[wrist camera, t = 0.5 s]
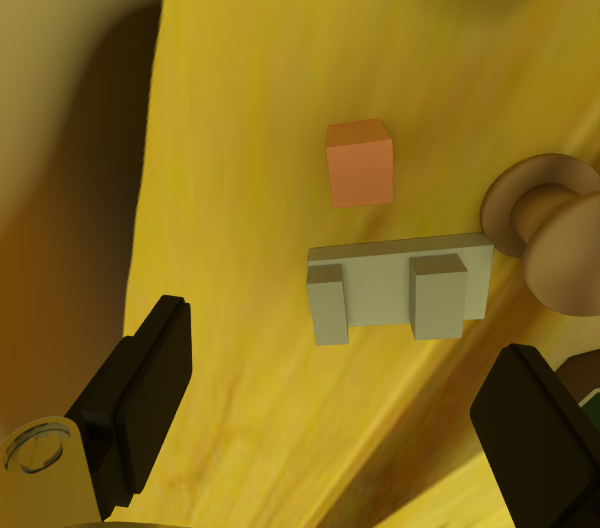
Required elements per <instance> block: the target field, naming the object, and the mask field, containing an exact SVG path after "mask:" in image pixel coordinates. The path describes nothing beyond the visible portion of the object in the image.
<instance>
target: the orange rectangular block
mask: <svg viewBox="0 0 600 528" xmlns="http://www.w3.org/2000/svg"><path fill="white" fill-rule="evenodd" d="M326 152H327V161H328V170H329V179H330V188H331V197H332V206H333V208H342V207H351V206H361V205H370V204H379V203H388V202H394V197H393V146H392V138H391V136H390V135H389V133H388V132H387V131H386V129H385V128H384V126H383V125H382V123H381V122H380V121H379V119H371V120H364V121H357V122H350V123H343V124H336V125H329V126H328V130H327V142H326Z"/></svg>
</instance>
